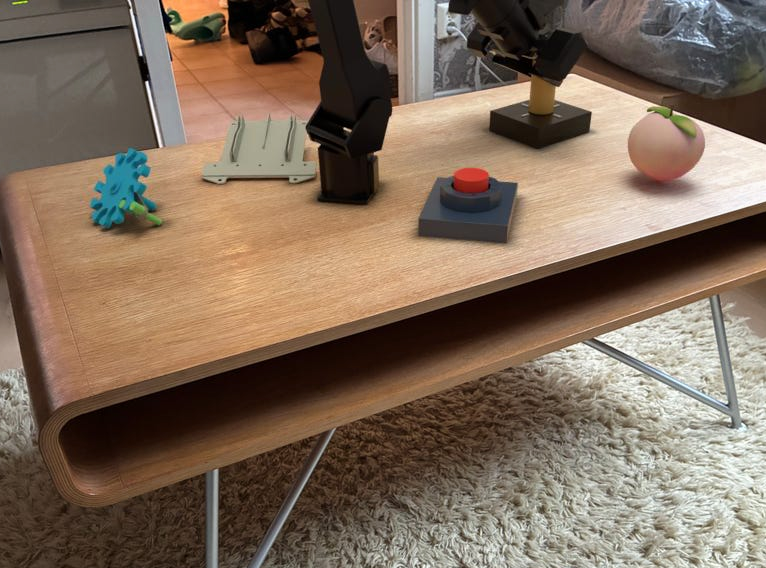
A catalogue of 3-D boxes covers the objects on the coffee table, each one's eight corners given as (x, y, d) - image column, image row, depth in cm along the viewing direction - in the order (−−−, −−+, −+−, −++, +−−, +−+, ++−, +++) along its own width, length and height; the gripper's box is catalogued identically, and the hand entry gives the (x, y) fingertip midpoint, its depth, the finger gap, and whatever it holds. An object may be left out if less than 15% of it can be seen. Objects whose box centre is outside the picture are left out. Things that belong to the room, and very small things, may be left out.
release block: (506, 243, 85) (509, 210, 82) (418, 236, 86) (418, 203, 84) (516, 199, 94) (519, 168, 92) (436, 193, 96) (437, 162, 94)
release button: (485, 196, 86) (486, 182, 85) (450, 194, 87) (451, 179, 86) (490, 182, 89) (490, 168, 88) (456, 180, 90) (456, 166, 89)
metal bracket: (214, 106, 107) (321, 105, 106) (223, 141, 111) (325, 140, 111) (196, 172, 98) (312, 170, 98) (206, 206, 103) (317, 205, 102)
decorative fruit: (606, 178, 99) (617, 100, 93) (652, 165, 102) (666, 89, 96) (660, 203, 92) (676, 122, 86) (707, 189, 96) (726, 109, 90)
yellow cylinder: (544, 116, 110) (550, 56, 105) (523, 111, 112) (528, 52, 107) (558, 110, 112) (564, 51, 107) (537, 105, 114) (542, 47, 109)
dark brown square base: (537, 149, 108) (539, 127, 106) (488, 130, 114) (490, 109, 112) (589, 131, 113) (592, 110, 111) (540, 115, 120) (542, 94, 118)
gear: (77, 196, 93) (125, 131, 91) (119, 218, 97) (165, 156, 95) (100, 243, 86) (152, 173, 84) (144, 264, 90) (194, 198, 88)
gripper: (586, -38, 92) (634, 45, 103) (486, -53, 104) (538, 22, 116) (533, 41, 93) (585, 115, 104) (439, 16, 105) (495, 84, 117)
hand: (550, 81), depth 110 cm, fingers closed on yellow cylinder, 4 cm apart
